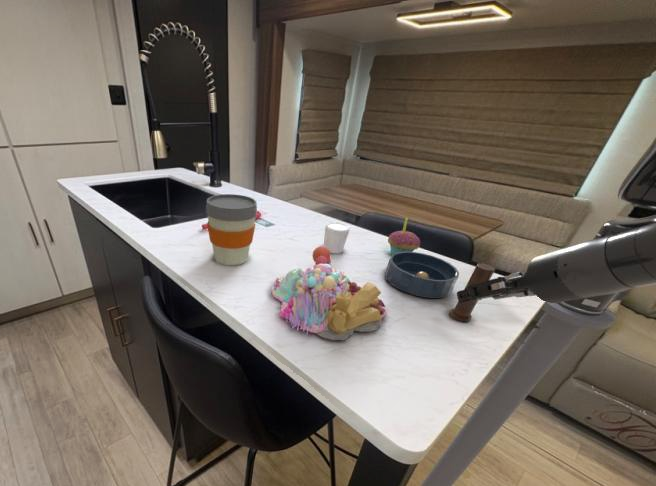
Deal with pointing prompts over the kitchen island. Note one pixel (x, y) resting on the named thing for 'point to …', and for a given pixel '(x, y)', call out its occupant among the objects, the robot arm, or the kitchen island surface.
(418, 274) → the bead
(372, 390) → the kitchen island surface
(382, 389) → the kitchen island surface
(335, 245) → the white short cylinder
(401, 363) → the kitchen island surface
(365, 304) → the multicoloured low lumpy mound
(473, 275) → the brown flared cylinder
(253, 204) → the reusable coffee cup
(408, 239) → the cupcake
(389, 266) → the bowl
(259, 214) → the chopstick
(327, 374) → the kitchen island surface
